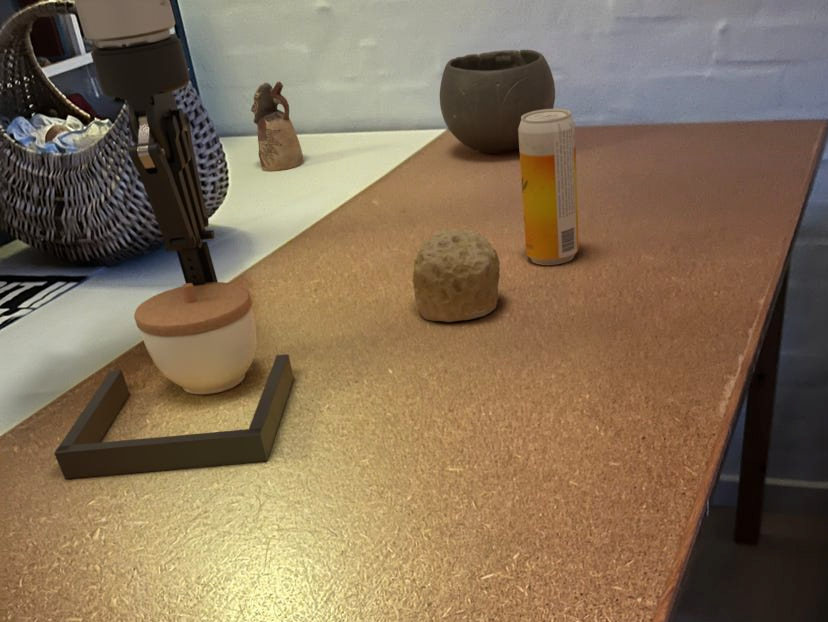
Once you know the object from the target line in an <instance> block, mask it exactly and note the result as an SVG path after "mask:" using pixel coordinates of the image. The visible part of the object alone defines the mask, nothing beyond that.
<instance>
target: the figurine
mask: <svg viewBox="0 0 828 622" xmlns="http://www.w3.org/2000/svg"><path fill="white" fill-rule="evenodd" d="M283 87H284V84H283V83H282V82H281V81H279V80H278V81H276V83H275V85H274V87H273V86H272V85H271V84H270V83H269V82H263V83H262V84H260V85H259V86H258V88H257V89H256V91H255V92H254V95H253V104H252V105H251V108H250V109H251V110H250V111H251V112H252V113H253V114H254V118H253V121H252V122H253V124H255V125H256V127H257V131H256V132H257V133H256V134H257V143H258V159H259V163H260V168H261V170H262V171H265V172H277V171H284V170H289V169H293V168H297V167H299V166H301V165H302V164H303V162H304V155H303V150H302V146H301V143H300V139H299V138H298V135H297V132H296V130H295V127H294V125H293V122H292V120H291V119H290V105H289V102H288V100H287V99H286V97H285V96H284V95H282V90H283ZM278 105H282V108H283V109H284V110H283V111H282V110H280V109H278Z"/></svg>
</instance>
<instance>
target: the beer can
mask: <svg viewBox="0 0 828 622" xmlns="http://www.w3.org/2000/svg"><path fill="white" fill-rule="evenodd" d="M518 134H519V148H518V149H519V164H520V179H521V195H522V211H523V223H524V224H523V226H524V240H525V243H524V244H525V254H526V255H527V256H528V257H529V259H530V260H531V262H532V263H534V264H535V265H541V266H555V265H561V264H566V263H568V262H570V261H572V260H573V259H574V258H575V255H576V254H577V252H578V251H579V249H580V246H579V243H580V242H579V216H578V215H579V213H578V211H579V210H578V185H577V184H578V183H577V182H578V181H577V180H578V179H577V151H576V147H577V146H576V124H575V121H574V119H573V117H572V112H571V111H570V110H568V109H564V108H553V109H544V110H537V111H532V112H529V113H526V114H524V115H522V116H521V122H520V125H519V128H518Z"/></svg>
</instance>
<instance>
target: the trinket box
mask: <svg viewBox="0 0 828 622" xmlns="http://www.w3.org/2000/svg"><path fill="white" fill-rule="evenodd" d="M252 305H253V302H252V297H251V294H250V291H249V290H248V289H247V288H245V287H244V286H242V285H240V284H236V283H233V282H223V281H222V282H221V281H218V282H209V283H205V284H198V285H193V284H192V283H186V282H185V283H183V284H182V285H181V286H178V287H175V288H172V289H168V290H165V291H162V292H160V293H157V294H156V295H153V296H151V297H149V298H147V299H146V300H145V301H143V302H141V303H140V304H139V305H138V306H137V307H136V309H135V311H134V314H133V316H134V317H133V318H134V321H135V325H136V327H137V328H138V329H139V332H140V335H141V338H142V341H143V343H144V346H145V349H146V351H147V353H148V355H149V357H150V358H151V360H152V362H153V364H154V365H155V367H156V368H157V369H158V371H160V373H161V374H162V375H163V376H164V377H166V379H167V380H169V381H171V382H172V383H173V384H176V385H177V386H179V387H182V389H183V390H184V391H185V392H187V393H188V394H192V395H201V396H203V395H212V394H219V393H221V392H225V391H227V390H231V389H233V388H234V387H236V386H238V385H240V384H241V383H243V381H244V380H245V378H246V373H247V371H248V370H249V369H250V367H251V366H252V363H253V361H254V360H255V359H254V358H255V356H256V352H257V351H256V350H257V343H258V342H257V325H256V320H255V319H256V318H255V314H254V311H253V307H252Z"/></svg>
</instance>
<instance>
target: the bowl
mask: <svg viewBox="0 0 828 622" xmlns="http://www.w3.org/2000/svg"><path fill="white" fill-rule="evenodd" d="M555 100H556V85H555V81H554V76H553V73H552V70H551V67H550V65H549V62H548V61H547V59H546V57H545V56H544V55H543V54H542V52H540V51H536V50H533V49H519V50H517V49H510V50H509V49H504V50H494V51H489V52H482V53H479V54H477V53H472V54H470V53H469V54H466V55H463V56H457V57H454V58H452V59H450V60H448V61H447V63H446V64H445V67H444V68H443V72H442V76H441V81H440V86H439V107H440V112H441V115H442V118H443V121H444V123H445V126H446V127H447V129H448V130H449V132H450V133H451V134H452V135H453V136H454V138H456V139H457V141H459V142H460V143H461V144H463V145H464V146H466V147H468V148H470V149H472V150H474V151H477V152H481V153H486V154H501V153H502V154H503V153H507V152H511V151H514V150H516V149H519V134H518V128H519V125H520V122H521V116H522V115H524V114H526V113H529V112H532V111H537V110H544V109H555V108H554V106H555Z"/></svg>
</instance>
